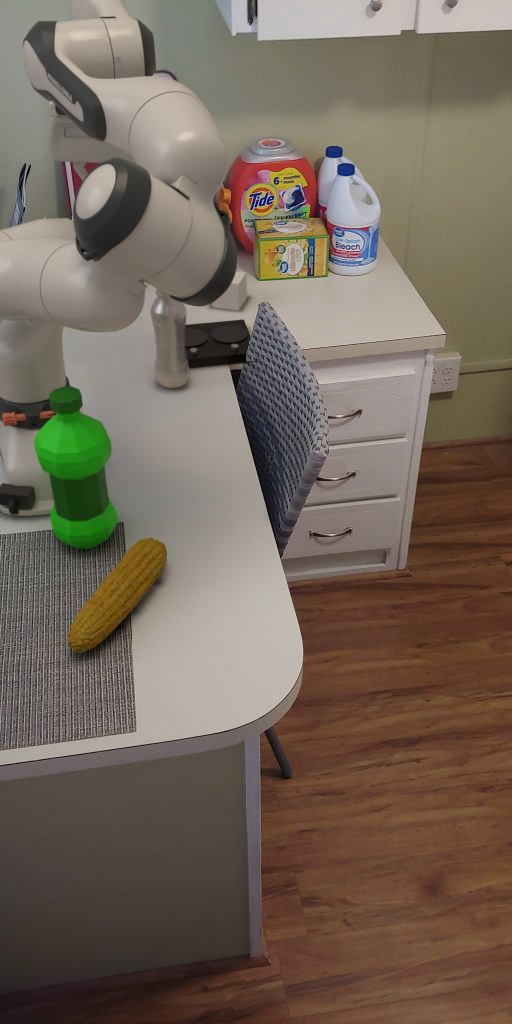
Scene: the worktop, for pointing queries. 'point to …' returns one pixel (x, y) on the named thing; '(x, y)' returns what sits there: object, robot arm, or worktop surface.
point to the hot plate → (216, 343)
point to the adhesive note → (234, 293)
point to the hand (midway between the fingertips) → (116, 189)
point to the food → (118, 594)
